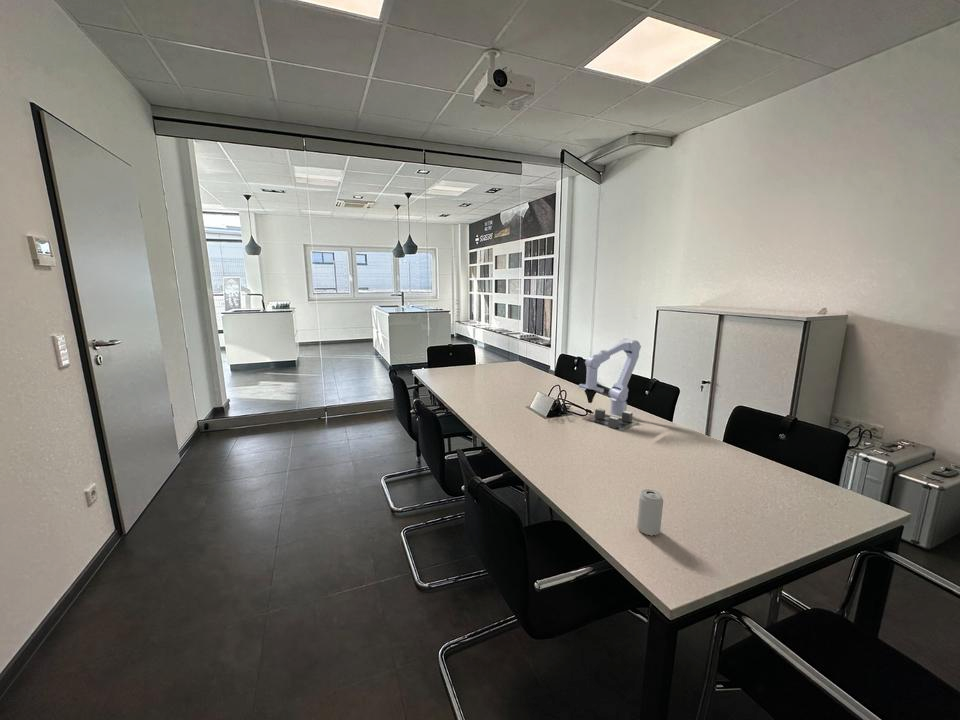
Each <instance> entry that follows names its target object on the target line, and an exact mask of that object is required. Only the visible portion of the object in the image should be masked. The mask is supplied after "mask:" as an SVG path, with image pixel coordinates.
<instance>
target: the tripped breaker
mask: <svg viewBox="0 0 960 720" xmlns="http://www.w3.org/2000/svg"><path fill="white" fill-rule="evenodd" d="M594 414H595V418H598V419H604V418H605V414H606V409H602V408H599V407H598V408H596V409H594Z"/></svg>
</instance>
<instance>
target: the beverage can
mask: <svg viewBox="0 0 960 720" xmlns="http://www.w3.org/2000/svg"><path fill="white" fill-rule="evenodd" d="M663 507H664V499H663V495H662V493H661V492H659V491H657V490H654V489H650V488H648V489H647V488H645V489H643V490H642V491H641V494H639V499H638V510H637V511H638V512H637V513H638V514H637V522H636V523H637V525H636V528H637V529H638V531H640V532H641V533H642V534H643V533H644V534H643V535H645V534H646V536H648V535H650V536H649V537H654V536H653V535H655V536H657V535H659V534H660V533H661V527H662V520H663V519H662V517H663V510H664V509H663Z"/></svg>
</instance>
